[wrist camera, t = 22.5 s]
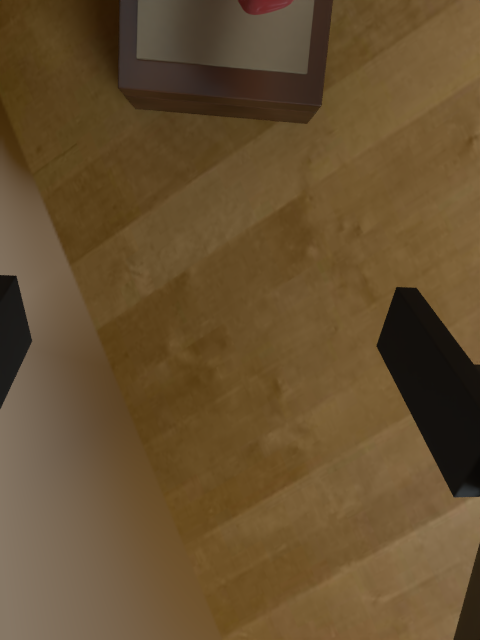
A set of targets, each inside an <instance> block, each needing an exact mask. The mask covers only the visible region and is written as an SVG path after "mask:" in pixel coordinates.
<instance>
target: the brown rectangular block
mask: <svg viewBox="0 0 480 640" xmlns="http://www.w3.org/2000/svg"><path fill="white" fill-rule="evenodd" d="M332 3H333V0H294V1H293V2H292V3H291V4H290V5H288V6H286V7H285V8H282V9H279V10H276V11H273V12H269V13H265V14H261V15H251V14H248V13H246V12H245V11H244V10H243V9H242V7H241V5H240V4H239V2H238V0H119V57H118V88H119V89H120V91H121V92H122V93H123V94H124V95H125V97H126V98H127V99H128V100H129V102H130V103H131V104H132V105H133V106H134V108H135V109H144V110H156V111H167V112H179V113H190V114H202V115H213V116H224V117H236V118H247V119H259V120H270V121H282V122H293V123H304V124H307V123H308V122H309V121H310V120H311V118H312V117H313V116H314V115H315V113H316V112H317V111H318V109H319V108H320V107H321V105H322V96H323V87H324V78H325V68H326V59H327V50H328V41H329V31H330V22H331V13H332Z"/></svg>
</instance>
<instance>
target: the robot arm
mask: <svg viewBox="0 0 480 640" xmlns="http://www.w3.org/2000/svg"><path fill="white" fill-rule="evenodd" d="M31 342H32V339H31V334H30V330H29V326H28V322H27V318H26V314H25V310H24V306H23V302H22V297H21V293H20V289H19V285H18V281H17V276H9V275H8V276H7V275H0V408H1V406H2V404H3V402H4V400H5V398H6V396H7V394H8V391H9V389H10V387H11V385H12V383H13V381H14V379H15V377H16V374H17V372H18V370H19V368H20V366H21V364H22V362H23V359H24V357H25V355H26V353H27V350H28V349H29V347H30V345H31ZM377 348H378V350H379V352H380V354H381V356H382V358H383V360H384V362H385V364H386V366H387V368H388V369H389V371H390V373H391V375H392V377H393V379H394V381H395V383H396V385H397V387H398V389H399V391H400V393H401V395H402V397H403V399H404V401H405V403H406V405H407V407H408V409H409V411H410V412H411V414H412V416H413V418H414V420H415V422H416V424H417V426H418V428H419V430H420V432H421V434H422V436H423V438H424V440H425V442H426V444H427V446H428V448H429V450H430V452H431V454H432V455H433V457H434V459H435V461H436V463H437V465H438V467H439V469H440V471H441V473H442V475H443V477H444V479H445V481H446V483H447V485H448V487H449V489H450V491H451V493H452V495H453V497H480V365H474V364H473V363H472V361H471V360H470V359H469V357H468V356H467V355H466V353H465V352H464V351H463V349H462V348H461V347H460V345H459V344H458V343H457V341H456V340H455V339H454V337H453V336H452V335H451V333H450V332H449V331H448V329H447V328H446V327H445V325H444V324H443V323H442V321H441V320H440V319H439V317H438V316H437V315H436V313H435V312H434V311H433V309H432V308H431V307H430V305H429V304H428V303H427V301H426V300H425V299H424V297H423V296H422V295H421V293H420V292H419V291H418V289H417V288H405V287H396V290H395V293H394V296H393V299H392V302H391V305H390V308H389V311H388V314H387V316H386V319H385V322H384V325H383V328H382V331H381V334H380V337H379V340H378V343H377ZM454 640H480V544H479V548H478V551H477V555H476V559H475V562H474V566H473V570H472V573H471V577H470V581H469V584H468V588H467V592H466V596H465V599H464V603H463V607H462V610H461V614H460V618H459V621H458V625H457V629H456V632H455V636H454Z"/></svg>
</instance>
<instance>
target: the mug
mask: <svg viewBox="0 0 480 640" xmlns="http://www.w3.org/2000/svg"><path fill="white" fill-rule="evenodd" d="M293 1H294V0H238V2H239V4H240V5H241V7H242V9H243V10H244V11H245V12H246V13H248V14H251V15H261V14H265V13H269V12H273V11H276V10H279V9H282V8H285V7H286V6H288V5H290V4H291V3H292V2H293Z"/></svg>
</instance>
